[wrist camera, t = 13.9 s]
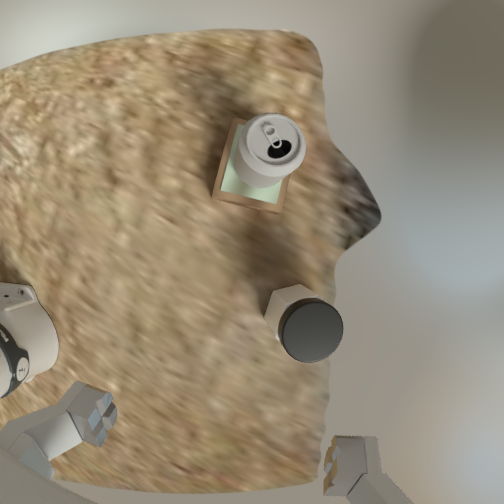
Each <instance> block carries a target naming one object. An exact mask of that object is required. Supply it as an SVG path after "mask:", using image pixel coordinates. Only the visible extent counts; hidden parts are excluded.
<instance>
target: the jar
mask: <svg viewBox="0 0 504 504" xmlns="http://www.w3.org/2000/svg"><path fill="white" fill-rule="evenodd" d="M264 319H265V321H266V322H267V324H268V326H269V328H270V329H271V331H272V333H273V334H274V336H275V337H276V338H277V339H278V340H279V341H280V342H281V344H282V345H283V347H284V348H285V350H286V352H287V353H288V354H289V355H290V356H291V357H293V358H294V359H296V360H298V361H301V362H307V363H311V362H317V361H320V360H323V359H325V358H326V357H328V356H329V355H330V354H332V353H333V352H334V351H335V349H336V348H337V347H338V345H339V343H340V341H341V339H342V335H343V322H342V318H341V316H340V314H339V313H338V311H337V310H336V309H335V308H334V307H333V306H331V305H330V304H328V303H326V302H325V301H324V300H323V299H322V298H321V297H320V296H319V295H318V294H316V293H315V292H313V291H311V290H310V289H308V288H306V287H305V286H303V285H301V284H298V285H294V286H290V287H286V288H282V289H278V290H274V291H273V292H272V295H271V298H270V301H269V304H268V307H267V310H266V313H265V316H264Z"/></svg>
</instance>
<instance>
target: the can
mask: <svg viewBox="0 0 504 504" xmlns="http://www.w3.org/2000/svg"><path fill="white" fill-rule="evenodd" d="M305 151H306V143H305V138H304V135H303V133H302V131H301V129H300V128H299V126H298V125H297V124H296V123H295V122H294V121H293V120H291V119H290V118H288V117H287V116H284V115H281V114H277V113H264V114H260V115H257V116H255V117H254V118H252V119H251V120H249V121H248V122H247V123H246V125H245V126H244V127H243V129H242V131H241V134H240V137H239V141H238V144H237V148H236V151H235V155H234V158H233V160H234V168H235V171H236V173H237V175H238V177H239V178H240V179H241V180H242V181H243V182H244V183H246V184H247V185H249V186H252V187H255V188H268V187H270V186H273V185H275V184H276V183H278V182H279V181H280V180H282V179H283V178H284V177H286V176H287V175H288V174H290V173H291V172H292V171H294V170H295V169H296V168H297V167H299V165H300V164H301V162H302V160H303V159H304V155H305Z"/></svg>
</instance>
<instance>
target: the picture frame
mask: <svg viewBox="0 0 504 504" xmlns="http://www.w3.org/2000/svg"><path fill="white" fill-rule="evenodd" d="M247 122H248V120H244V119H240V118H236V117H233V118H232V121H231V125H230V128H229V132H228V136H227V139H226V143H225V147H224V150H223V154H222V158H221V161H220V165H219V169H218V173H217V177H216V181H215V184H214V188H213V192H212V199H215V200H219V201H224V202H228V203H232V204H236V205H240V206H244V207H248V208H252V209H256V210H260V211H264V212H268V213H272V214H280V213H281V212H282V208H283V204H284V200H285V195H286V191H287V187H288V182H289V178H290V174H288V175H287V176H286V177H284V178H283V179H282V180H280V181H279V182H278V183H276V184H275V185H273V186H270V187H268V188H255V187H252V186H249V185H247V184H246V183H244V182H243V181H242V180H241V179H240V178H239V177H238V175H237V173H236V171H235V168H234V160H233V158H234V155H235V151H236V148H237V144H238V141H239V137H240V134H241V131H242V129H243V127H244V126H245V125H246V123H247Z"/></svg>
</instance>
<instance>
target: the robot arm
mask: <svg viewBox="0 0 504 504" xmlns="http://www.w3.org/2000/svg"><path fill="white" fill-rule="evenodd" d="M22 290H23V292H24V294H23V293H22ZM57 355H58V338H57V333H56V330H55V327H54V325H53V323H52V321H51V319H50V317H49V316H48V314H47V313H46V311H45V310H44V309H43V308H42V306H41V305H40V304H39V302H38V299H37V297H36V294H35V292H34V290H33V288H32V287H31V286H29V285H22V284H12V283H3V282H0V398H4V397H6V396H7V395H9V394H10V393H11V392H12V391H14V390H15V389H16V388H17V387H18V386H19V385H20V384H22V383H23V382H29V381H31V380H32V379H33V378H34V377H35V375H37V374H39V373H42V372H45V371H47V370H49V369H50V368H51V367H52V366H53V364H54V363H55V361H56V359H57ZM112 400H113V396H112V393H110V392H107V391H105V390H102V389H99V388H97V387H94V386H91V385H89V384H86V383H84V382H81V381H79V380H78V381H76V382H74V383H73V385H72V386H71V387H70V388H69V389H68V391H67V392H66V393H65V394H64V396H63V397H62V398H61V399H60V401H59V402H58V403H57V404H56V406H54V405H51V406H48V407H46V408H43V409H41V410H38V411H35V412H33V413H30V414H27V415H25V416H22V417H19V418H17V419H14V420H11V421H8V422H7V424H6V425H5V426H4V427H3V429H2V430H1V431H0V504H97V503H95V502H93V501H90V500H89V499H87V498H84V497H82V496H80V495H78V494H76V493H74V492H72V491H70V490H69V489H67V488H65V487H63V486H61V485H59V484H57V483H56V482H54V481H52V480H51V479H52V477H53V476H54V474H55V469H54V468H53V466H52V465H51V464H50V462H49V460H51V459H53V458H55V457H57V456H58V455H60V454H62V453H64V452H65V451H67V450H69V449H71V448H72V447H74V446H76V445H78V444H79V443H81V442H83V441H85V442H88V443H90V444H93V445H95V446H98V447H101V446H102V444H103V443H104V441H105V439H106V438H107V436H108V434H107V430H109V429H111V428H113V426H114V424H115V422H116V419H117V408H116V406H115V405H114V404H113V403H112ZM82 440H83V441H82ZM324 471H325V472H326V473H327V476H326V477H325V479H324V495H327V496H347V497H346V498H347V499H348V501H349V503H350V504H414V503H413V502H412V501H411V500H410V499H409V498H408V497H407V496H406V495H405V494H404V493H403V491H402V490H401V489H400V488H399V487H398V486H397V485H396V484H395V483H394V482H393V481H392V479H391V478H390V477H389V476H388V475H387V474H386V473H382V468H381V460H380V452H379V445H378V439H377V437H375V436H365V437H364V436H337V435H335V436H334V437H333V439H332V446H331V447H329V448H328V450H327V453H326V457H325V463H324Z"/></svg>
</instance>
